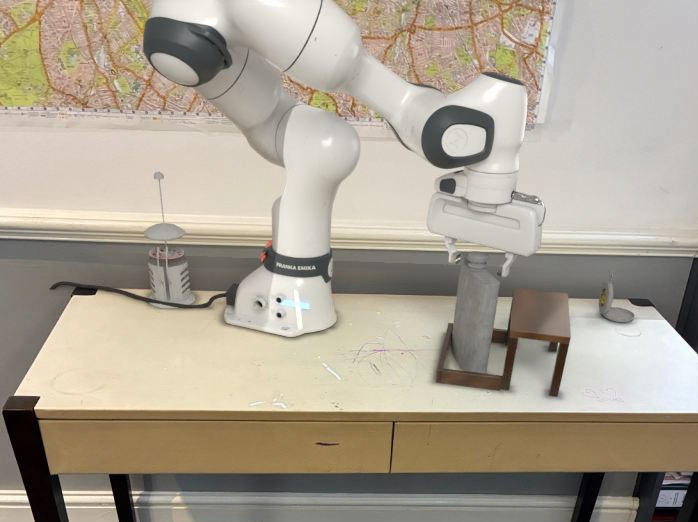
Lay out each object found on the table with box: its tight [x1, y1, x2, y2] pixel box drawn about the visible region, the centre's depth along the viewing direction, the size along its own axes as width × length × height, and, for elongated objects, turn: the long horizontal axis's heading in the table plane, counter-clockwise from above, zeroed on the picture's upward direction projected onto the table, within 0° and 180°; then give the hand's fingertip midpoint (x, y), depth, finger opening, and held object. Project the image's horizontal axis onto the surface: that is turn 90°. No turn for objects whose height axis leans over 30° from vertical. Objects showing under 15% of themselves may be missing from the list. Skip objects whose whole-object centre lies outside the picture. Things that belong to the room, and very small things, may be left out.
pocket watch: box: [598, 269, 636, 323], centre depth 164 cm, size 8×8×10 cm
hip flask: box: [450, 251, 501, 374], centre depth 141 cm, size 16×4×20 cm, turn 9°
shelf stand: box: [435, 287, 572, 398], centre depth 142 cm, size 22×21×11 cm
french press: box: [143, 171, 197, 309], centre depth 154 cm, size 10×12×25 cm
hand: (477, 269), depth 136 cm, fingers open, 8 cm apart
